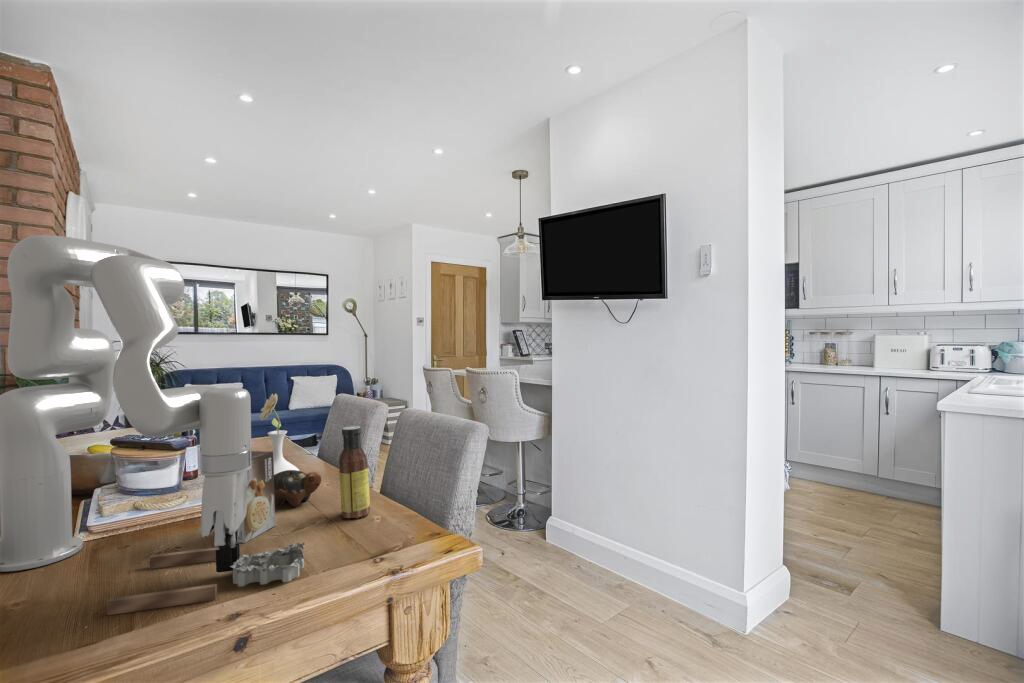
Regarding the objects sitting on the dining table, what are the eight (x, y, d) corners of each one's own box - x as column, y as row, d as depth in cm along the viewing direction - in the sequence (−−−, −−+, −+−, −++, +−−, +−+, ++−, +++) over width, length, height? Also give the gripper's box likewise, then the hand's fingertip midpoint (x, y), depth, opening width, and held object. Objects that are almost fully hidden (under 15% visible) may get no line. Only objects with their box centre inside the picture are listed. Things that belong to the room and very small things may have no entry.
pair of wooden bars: (107, 615, 72) (106, 601, 72) (152, 566, 88) (151, 555, 88) (215, 599, 76) (215, 586, 76) (240, 555, 92) (240, 544, 92)
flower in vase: (259, 477, 142) (258, 390, 142) (302, 473, 145) (301, 388, 145) (250, 491, 130) (248, 396, 129) (297, 487, 133) (295, 394, 133)
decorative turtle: (313, 510, 115) (313, 476, 115) (249, 510, 115) (248, 476, 115) (329, 496, 125) (329, 465, 125) (270, 497, 125) (269, 465, 125)
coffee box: (250, 524, 107) (248, 450, 107) (276, 526, 106) (274, 451, 106) (216, 541, 98) (215, 460, 98) (245, 544, 97) (243, 462, 97)
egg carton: (308, 564, 89) (308, 541, 89) (295, 585, 81) (295, 560, 81) (245, 567, 87) (245, 544, 87) (226, 589, 80) (226, 564, 80)
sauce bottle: (373, 509, 115) (371, 424, 115) (366, 519, 109) (364, 429, 108) (344, 510, 115) (343, 424, 114) (335, 520, 109) (334, 430, 108)
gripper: (214, 453, 90) (216, 553, 90) (185, 475, 75) (187, 595, 76) (260, 450, 92) (261, 548, 92) (240, 471, 78) (242, 587, 78)
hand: (228, 569), depth 84 cm, fingers closed
